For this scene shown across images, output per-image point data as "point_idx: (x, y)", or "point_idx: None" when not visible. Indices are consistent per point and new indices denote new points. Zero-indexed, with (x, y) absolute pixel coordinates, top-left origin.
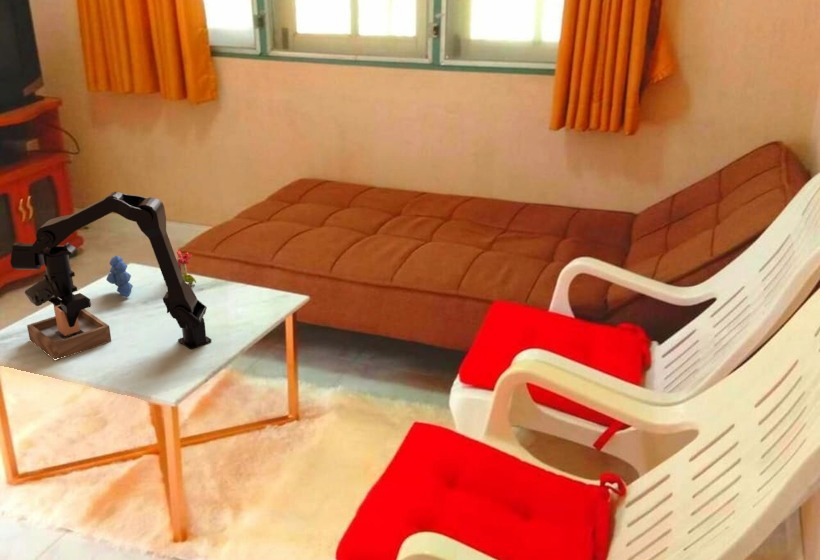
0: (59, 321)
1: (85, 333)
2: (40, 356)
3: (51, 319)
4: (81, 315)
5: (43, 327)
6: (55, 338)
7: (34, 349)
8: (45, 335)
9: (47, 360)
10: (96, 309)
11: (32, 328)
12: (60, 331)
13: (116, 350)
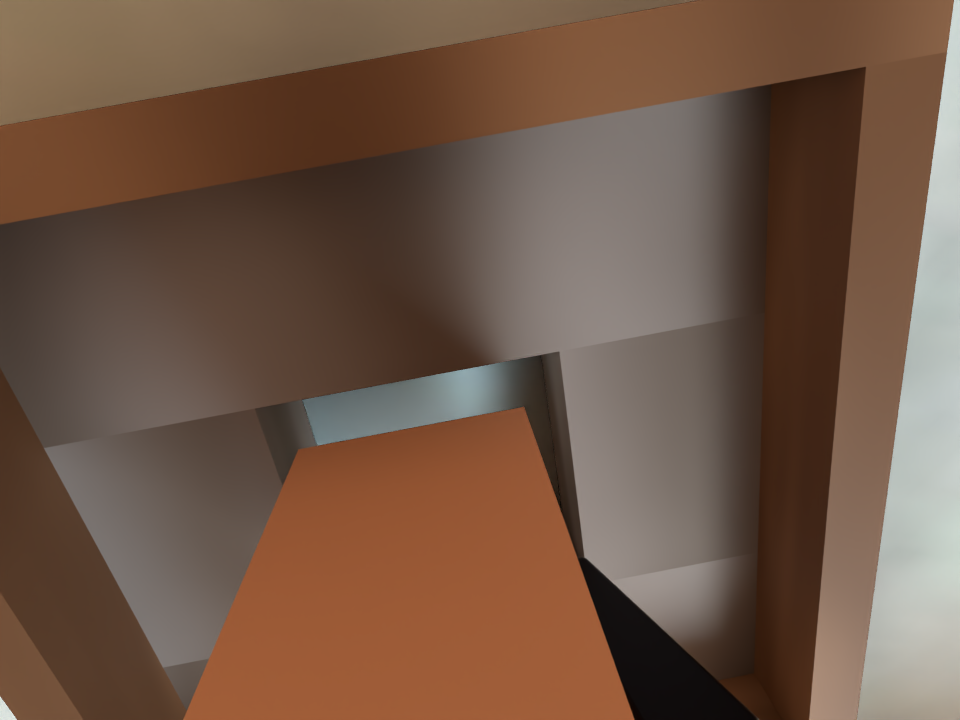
0: (394, 573)
1: (23, 716)
2: (182, 24)
3: (830, 423)
4: (760, 684)
5: (778, 254)
6: (338, 320)
7: (444, 7)
8: (214, 182)
9: (12, 80)
10: (894, 715)
11: (712, 20)
12: (436, 433)
13: (12, 714)
